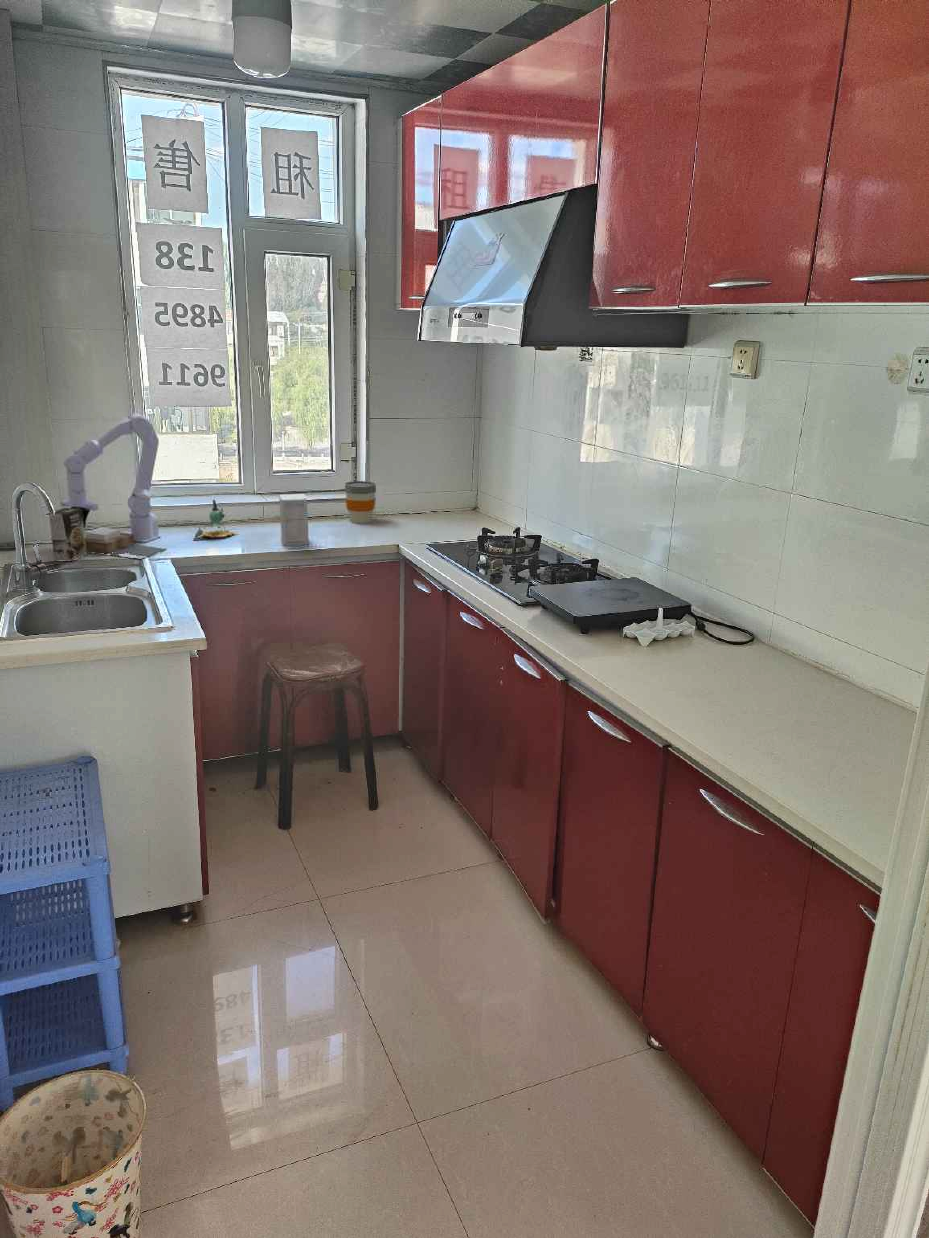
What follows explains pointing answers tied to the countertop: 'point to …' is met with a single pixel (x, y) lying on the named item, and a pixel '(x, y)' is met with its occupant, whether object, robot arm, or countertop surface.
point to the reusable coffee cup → (360, 500)
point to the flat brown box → (109, 544)
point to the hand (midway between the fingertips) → (81, 528)
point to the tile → (103, 533)
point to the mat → (139, 550)
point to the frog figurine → (215, 518)
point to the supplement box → (294, 519)
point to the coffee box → (68, 534)
